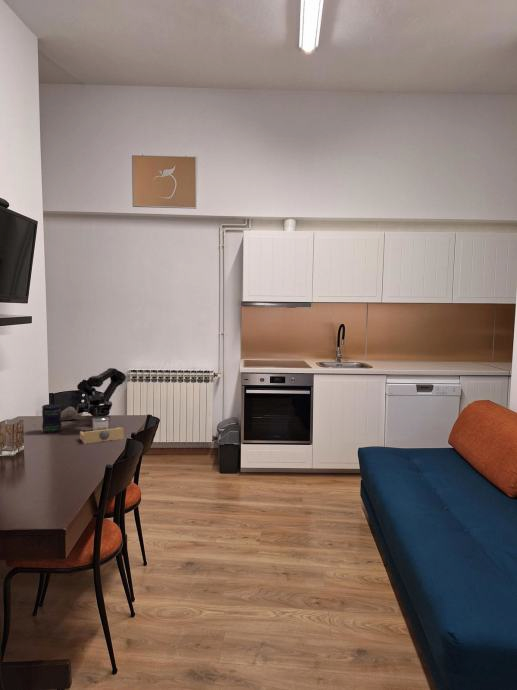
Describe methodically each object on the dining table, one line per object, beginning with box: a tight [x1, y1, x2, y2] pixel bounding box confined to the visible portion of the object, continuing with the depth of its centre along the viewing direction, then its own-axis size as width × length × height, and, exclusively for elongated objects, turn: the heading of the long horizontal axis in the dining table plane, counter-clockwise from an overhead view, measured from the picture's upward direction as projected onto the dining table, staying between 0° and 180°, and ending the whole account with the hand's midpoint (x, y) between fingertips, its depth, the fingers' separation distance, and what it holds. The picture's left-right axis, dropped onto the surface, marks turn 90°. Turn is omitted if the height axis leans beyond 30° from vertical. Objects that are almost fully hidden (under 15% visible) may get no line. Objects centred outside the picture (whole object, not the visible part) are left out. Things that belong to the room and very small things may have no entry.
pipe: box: [61, 406, 84, 422], centre depth 301 cm, size 16×9×15 cm
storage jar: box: [41, 403, 62, 435], centre depth 272 cm, size 10×10×15 cm
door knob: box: [91, 415, 110, 431], centre depth 262 cm, size 14×14×11 cm
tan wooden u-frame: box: [79, 427, 125, 445], centre depth 260 cm, size 11×20×6 cm, turn 121°
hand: (97, 419), depth 270 cm, fingers closed
